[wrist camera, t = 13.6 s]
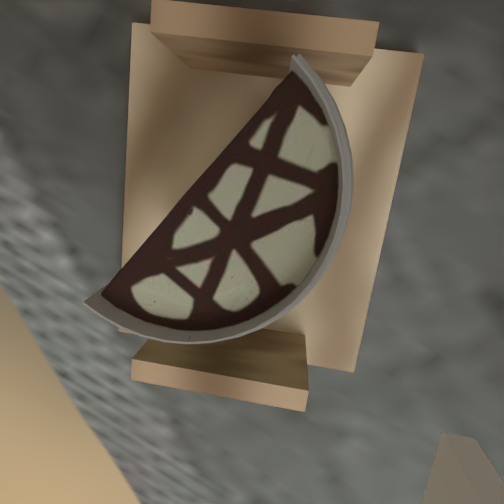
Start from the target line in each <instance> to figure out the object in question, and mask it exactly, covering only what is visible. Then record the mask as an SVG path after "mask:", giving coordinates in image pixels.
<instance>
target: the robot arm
mask: <svg viewBox="0 0 504 504" xmlns="http://www.w3.org/2000/svg"><path fill="white" fill-rule="evenodd" d="M421 504H504V483H503V482H502V480H501V479H500V477H499V476H498V474H497V472H496V471H495V469H494V468H493V466H492V465H491V463H490V462H489V460H488V458H487V457H486V455H485V454H484V452H483V451H482V449H481V448H480V446H479V444H478V443H477V441H476V440H475V438H470V437H465V436H459V435H454V434H449V433H444V432H443V433H442V436H441V440H440V443H439V446H438V449H437V453H436V456H435V459H434V463H433V466H432V469H431V473H430V476H429V479H428V483H427V486H426V489H425V493H424V496H423V499H422V503H421Z"/></svg>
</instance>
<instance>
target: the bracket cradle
mask: <svg viewBox="0 0 504 504" xmlns="http://www.w3.org/2000/svg"><path fill="white" fill-rule="evenodd" d="M378 27H379V22H375V21H365V20H355V19H345V18H336V17H326V16H316V15H306V14H297V13H287V12H277V11H267V10H258V9H248V8H238V7H228V6H219V5H209V4H199V3H189V2H180V1H170V0H152V2H151V20H150V24H143V23H134V22H132V38H131V60H130V83H129V106H128V129H127V152H126V174H125V197H124V220H123V243H122V266H121V269H122V268H123V266H124V265H125V264H126V263H127V262H128V261H129V259H130V258H131V257H132V256H133V255H134V254H135V252H136V251H137V250H138V249H139V248H140V247H141V245H142V244H143V243H144V242H145V241H146V240H147V238H148V237H149V236H150V235H151V234H152V233H153V231H154V230H155V229H156V228H157V227H158V226H159V224H160V223H161V222H162V221H163V220H164V218H165V217H166V216H167V215H168V213H169V212H170V211H171V210H172V209H173V207H174V206H175V205H176V204H177V202H178V201H179V200H180V199H181V198H182V196H183V195H184V194H185V193H186V192H187V191H188V190H189V188H190V187H191V186H192V185H193V184H194V183H195V182H196V181H197V179H198V178H199V177H200V176H201V175H202V174H203V173H204V172H205V171H206V169H207V168H208V167H209V166H210V165H211V164H212V163H213V162H214V161H215V159H216V158H217V157H218V156H219V155H220V154H221V153H222V151H223V150H224V149H225V148H226V147H227V146H228V144H229V143H230V142H231V141H232V140H233V139H234V138H235V136H236V135H237V134H238V133H239V132H240V131H241V129H242V128H243V127H244V126H245V125H246V124H247V123H248V121H249V120H250V119H251V118H252V117H253V116H254V115H255V113H256V112H257V111H258V110H259V109H260V108H261V106H262V105H263V104H264V103H265V102H266V100H267V99H268V98H269V97H270V95H271V94H272V92H273V90H274V89H275V88H276V87H277V86H278V85H279V84H280V83H281V82H282V81H283V80H284V79H285V77H286V76H287V75H288V73H289V68H290V63H291V58H292V56H293V54H294V55H295V57H297V56H298V54H299V53H300V54H301V55H302V56H303V57H304V58H305V59H306V61H307V62H308V63H309V64H310V65H311V67H312V68H313V69H314V70H315V71H316V72H317V74H318V75H319V76H320V77H321V79H322V80H323V82H324V84H325V85H326V87H327V89H328V90H329V92H330V94H331V95H332V97H333V99H334V100H335V102H336V104H337V107H338V109H339V112H340V114H341V117H342V119H343V122H344V124H345V127H346V130H347V135H348V139H349V143H350V148H351V152H352V161H353V177H354V186H353V196H352V207H351V212H350V215H349V219H348V223H347V227H346V231H345V234H344V236H343V239H342V241H341V243H340V245H339V248H338V250H337V252H336V255H335V257H334V258H333V260H332V262H331V264H330V265H329V267H328V268H327V270H326V271H325V273H324V274H323V276H322V277H321V279H320V280H319V282H318V283H317V285H316V286H315V287H314V288H313V289H312V290H311V291H310V292H309V293H308V294H307V296H306V297H305V298H304V299H303V300H302V301H301V302H300V303H299V304H298V305H296V306H295V307H294V308H292V309H291V310H290V311H289V312H287V313H286V314H285V315H284V316H282V317H281V318H279V319H277V320H276V321H274V322H272V323H270V324H269V325H267V326H265V327H263V328H262V329H259V330H257V331H254V332H251V333H248V334H246V335H243V336H240V337H237V338H232V339H228V340H223V341H218V342H214V343H203V344H178V343H167V342H162V341H157V340H153V339H148V340H147V341H146V343H145V344H144V345H143V346H142V347H141V349H140V350H139V351H138V352H137V354H136V355H135V356H134V357H133V358H132V367H131V380H135V381H141V382H146V383H151V384H157V385H162V386H168V387H173V388H178V389H184V390H189V391H195V392H200V393H205V394H211V395H216V396H222V397H227V398H232V399H238V400H243V401H249V402H254V403H259V404H265V405H270V406H276V407H281V408H286V409H292V410H297V411H303V412H305V408H306V403H307V398H308V392H309V387H308V371H307V364H308V365H314V366H320V367H326V368H331V369H337V370H343V371H348V372H354V369H355V365H356V360H357V356H358V351H359V347H360V342H361V338H362V333H363V329H364V324H365V320H366V315H367V311H368V307H369V302H370V298H371V293H372V289H373V284H374V280H375V275H376V271H377V266H378V262H379V257H380V253H381V248H382V244H383V239H384V235H385V230H386V226H387V221H388V217H389V212H390V208H391V203H392V199H393V194H394V190H395V185H396V181H397V176H398V172H399V167H400V163H401V158H402V154H403V149H404V145H405V140H406V136H407V131H408V127H409V122H410V118H411V113H412V109H413V104H414V100H415V95H416V91H417V87H418V82H419V78H420V73H421V69H422V64H423V60H424V55H425V54H421V53H411V52H402V51H393V50H384V49H374V48H375V42H376V37H377V32H378ZM119 331H120V332H126V333H131V332H129V331H126V330H123V329H121V328H119ZM132 334H134V333H132Z"/></svg>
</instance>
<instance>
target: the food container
mask: <svg viewBox="0 0 504 504" xmlns="http://www.w3.org/2000/svg"><path fill="white" fill-rule="evenodd" d="M353 186H354V177H353V161H352V152H351V148H350V143H349V139H348V135H347V130H346V127H345V124H344V122H343V119H342V117H341V114H340V112H339V109H338V107H337V104H336V102H335V100H334V99H333V97H332V95H331V94H330V92H329V90H328V89H327V87H326V85H325V84H324V82H323V80H322V79H321V77H320V76H319V75H318V74H317V72H316V71H315V70H314V69H313V68H312V67H311V65H310V64H309V63H308V62H307V61H306V59H305V58H304V57H303V56H302V55H301V54H300V53H299V54H298V56H297V57H295V55H294V54H293V56H292V58H291V63H290V68H289V73H288V75H287V76H286V77H285V79H284V80H283V81H282V82H281V83H280V84H279V85H278V86H277V87H276V88H275V89H274V90H273V92H272V94H271V95H270V97H269V98H268V99H267V100H266V102H265V103H264V104H263V105H262V106H261V108H260V109H259V110H258V111H257V112H256V113H255V115H254V116H253V117H252V118H251V119H250V120H249V121H248V123H247V124H246V125H245V126H244V127H243V128H242V129H241V131H240V132H239V133H238V134H237V135H236V136H235V138H234V139H233V140H232V141H231V142H230V143H229V144H228V146H227V147H226V148H225V149H224V150H223V151H222V153H221V154H220V155H219V156H218V157H217V158H216V159H215V161H214V162H213V163H212V164H211V165H210V166H209V167H208V168H207V169H206V171H205V172H204V173H203V174H202V175H201V176H200V177H199V178H198V179H197V181H196V182H195V183H194V184H193V185H192V186H191V187H190V188H189V190H188V191H187V192H186V193H185V194H184V195H183V196H182V198H181V199H180V200H179V201H178V202H177V204H176V205H175V206H174V207H173V209H172V210H171V211H170V212H169V213H168V215H167V216H166V217H165V218H164V220H163V221H162V222H161V223H160V224H159V226H158V227H157V228H156V229H155V230H154V231H153V233H152V234H151V235H150V236H149V237H148V238H147V240H146V241H145V242H144V243H143V244H142V245H141V247H140V248H139V249H138V250H137V251H136V252H135V254H134V255H133V256H132V257H131V258H130V259H129V261H128V262H127V263H126V264H125V265H124V266H123V268H122V269H121V270H120V271H119V272H118V273H117V275H116V276H115V277H114V278H113V279H112V281H111V282H110V283H109V284H108V285H106V286H105V287H104V288H102V289H101V290H99V291H98V292H97V293H95V294H94V295H92V296H91V297H90V298H88V299H87V300H85V301H84V302H83V303H82V304H84V305H85V306H86V307H88V308H89V309H90V310H92V311H93V312H94V313H96V314H97V315H98V316H100V317H101V318H103V319H105V320H107V321H108V322H110V323H112V324H114V325H115V326H117V327H119V328H121V329H123V330H126V331H129V332H131V333H134V334H136V335H139V336H141V337H145V338H149V339H153V340H157V341H162V342H167V343H178V344H203V343H214V342H218V341H223V340H228V339H232V338H237V337H240V336H243V335H246V334H248V333H251V332H254V331H257V330H259V329H262V328H263V327H265V326H267V325H269V324H270V323H272V322H274V321H276V320H277V319H279V318H281V317H282V316H284V315H285V314H286V313H287V312H289V311H290V310H291V309H292V308H294V307H295V306H296V305H298V304H299V303H300V302H301V301H302V300H303V299H304V298H305V297H306V296H307V294H308V293H309V292H310V291H311V290H312V289H313V288H314V287H315V286H316V285H317V283H318V282H319V280H320V279H321V277H322V276H323V274H324V273H325V271H326V270H327V268H328V267H329V265H330V264H331V262H332V260H333V258H334V257H335V255H336V252H337V250H338V248H339V245H340V243H341V241H342V239H343V236H344V234H345V231H346V227H347V223H348V219H349V215H350V212H351V207H352V196H353Z"/></svg>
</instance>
